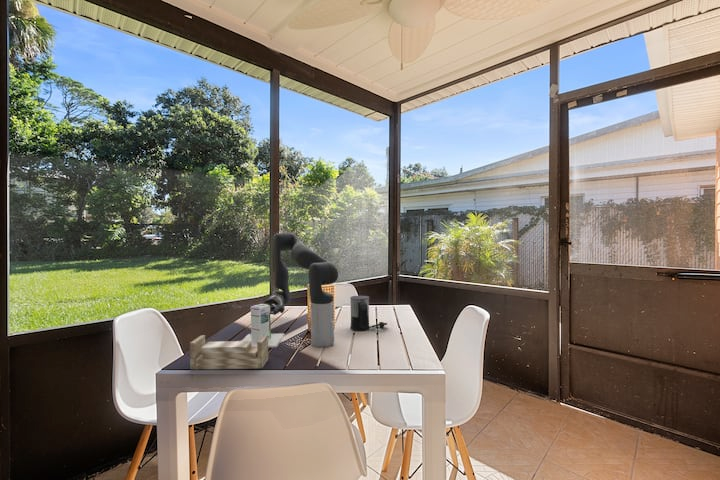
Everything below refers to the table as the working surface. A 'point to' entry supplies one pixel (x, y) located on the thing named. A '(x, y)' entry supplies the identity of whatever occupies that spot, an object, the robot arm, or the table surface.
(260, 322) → the syrup box
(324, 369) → the table surface
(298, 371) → the table surface
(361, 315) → the milk frother
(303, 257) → the robot arm
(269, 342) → the white mat
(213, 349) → the offcut rack
